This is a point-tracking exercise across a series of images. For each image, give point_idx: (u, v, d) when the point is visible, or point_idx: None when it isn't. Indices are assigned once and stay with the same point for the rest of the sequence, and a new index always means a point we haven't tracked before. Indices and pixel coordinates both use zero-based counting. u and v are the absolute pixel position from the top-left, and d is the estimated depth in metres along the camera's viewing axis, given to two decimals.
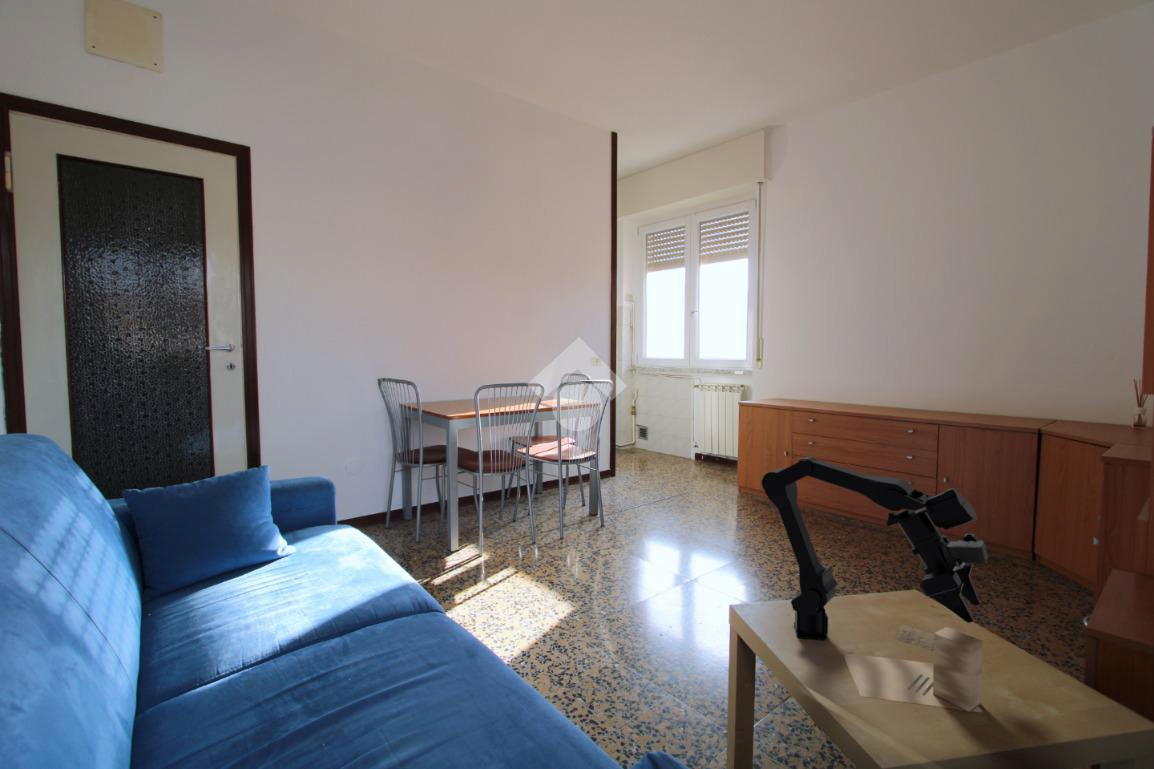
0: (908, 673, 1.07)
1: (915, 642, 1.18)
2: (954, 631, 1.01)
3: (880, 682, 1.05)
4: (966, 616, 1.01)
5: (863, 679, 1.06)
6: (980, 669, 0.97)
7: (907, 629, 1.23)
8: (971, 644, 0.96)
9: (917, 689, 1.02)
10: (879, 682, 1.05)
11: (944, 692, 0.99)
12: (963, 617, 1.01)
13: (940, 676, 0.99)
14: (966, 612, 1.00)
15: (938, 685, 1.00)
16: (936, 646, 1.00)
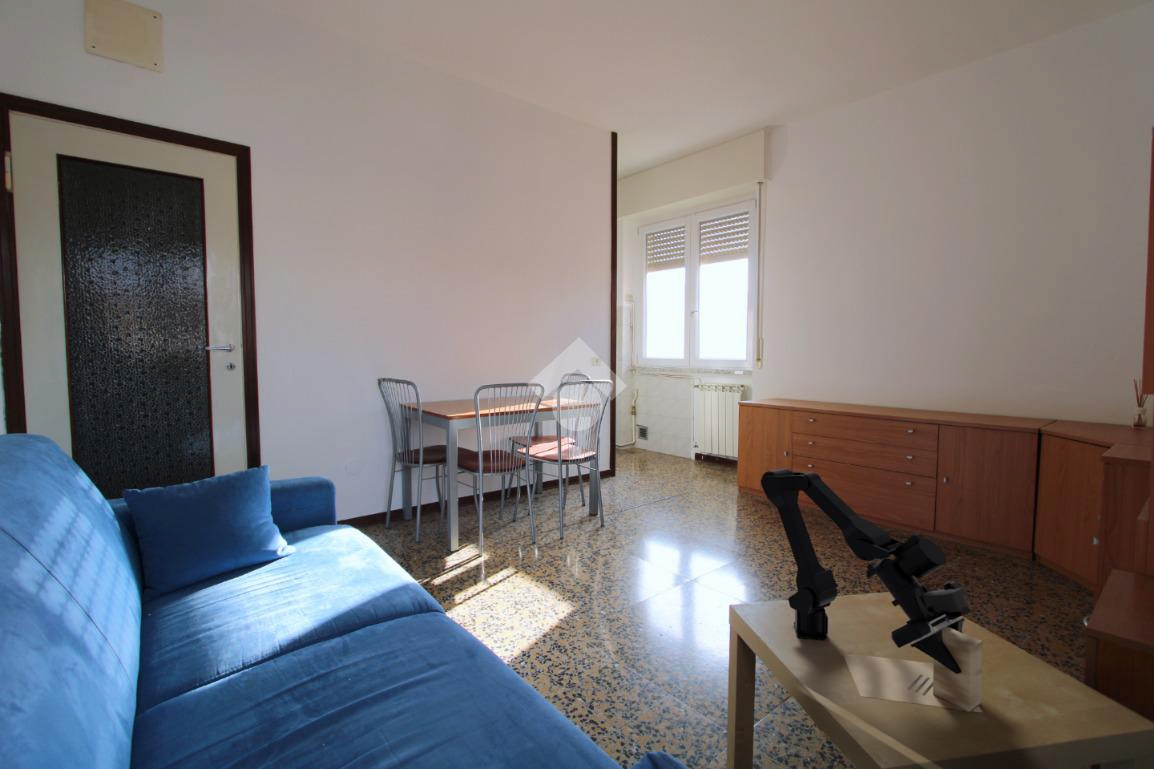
0: (908, 673, 1.07)
1: None
2: (954, 631, 1.01)
3: (880, 682, 1.05)
4: (953, 667, 0.97)
5: (863, 679, 1.06)
6: (980, 669, 0.97)
7: None
8: (971, 644, 0.96)
9: (917, 689, 1.02)
10: (879, 682, 1.05)
11: (944, 692, 0.99)
12: (950, 668, 0.97)
13: (940, 676, 0.99)
14: (951, 661, 0.97)
15: (938, 685, 1.00)
16: None
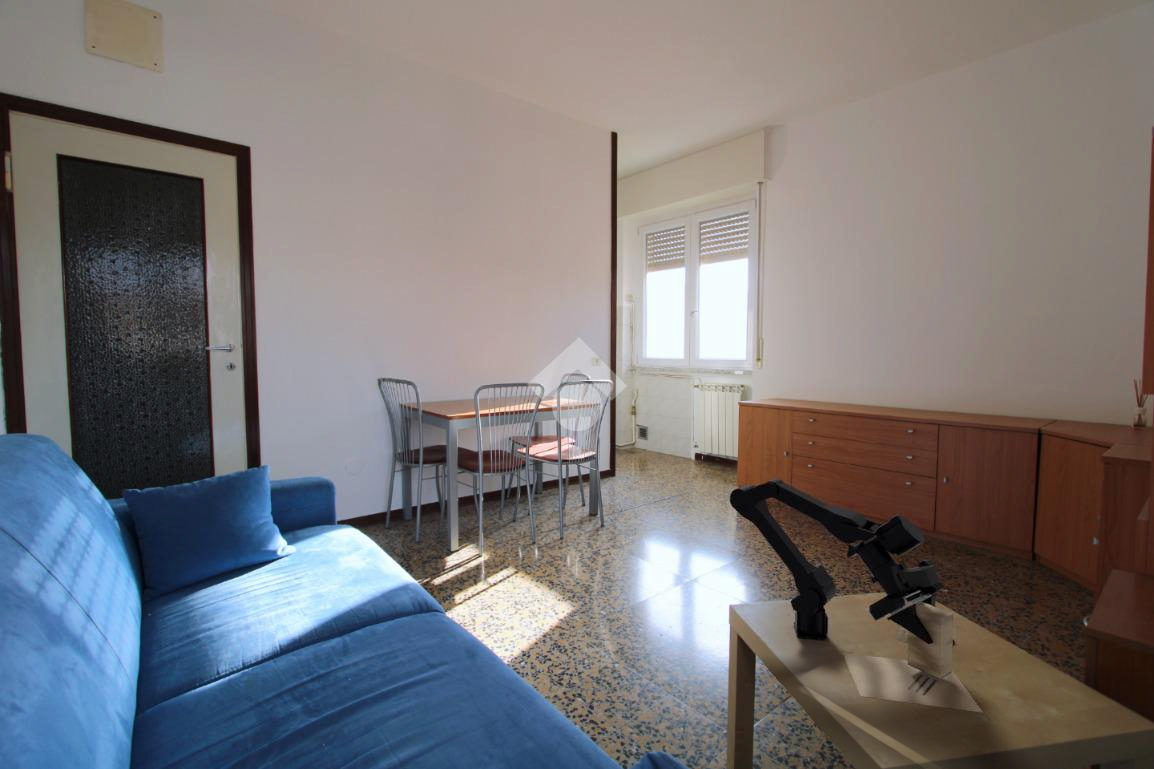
0: (908, 673, 1.07)
1: None
2: (927, 605, 1.08)
3: (880, 682, 1.05)
4: (926, 638, 1.04)
5: (863, 679, 1.06)
6: (951, 640, 1.04)
7: None
8: (942, 616, 1.03)
9: (917, 689, 1.02)
10: (879, 682, 1.05)
11: (917, 661, 1.06)
12: (923, 638, 1.04)
13: (914, 646, 1.07)
14: (924, 632, 1.04)
15: (913, 655, 1.07)
16: None
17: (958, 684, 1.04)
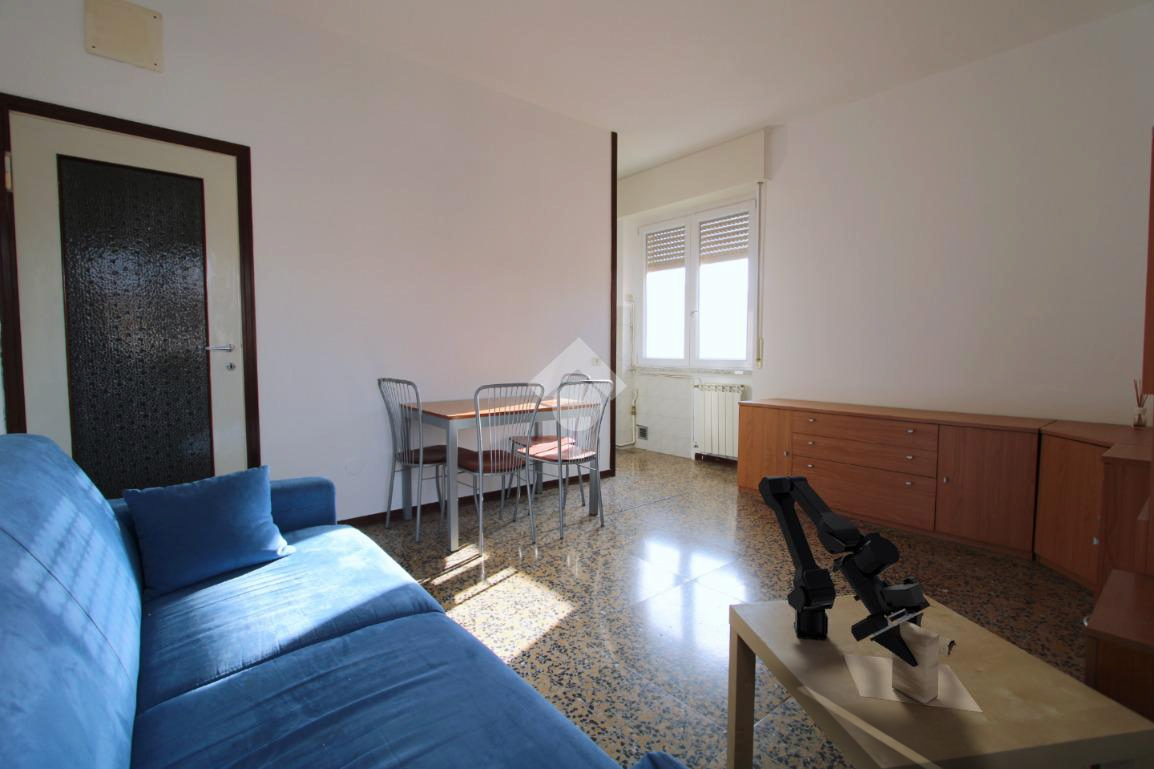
0: None
1: None
2: (913, 625, 1.03)
3: (880, 682, 1.05)
4: (910, 660, 0.99)
5: (863, 679, 1.06)
6: (937, 662, 0.99)
7: None
8: (928, 638, 0.98)
9: None
10: (879, 682, 1.05)
11: (902, 685, 1.01)
12: (907, 661, 0.99)
13: (899, 669, 1.01)
14: (908, 655, 0.99)
15: (897, 678, 1.02)
16: None
17: (958, 684, 1.04)
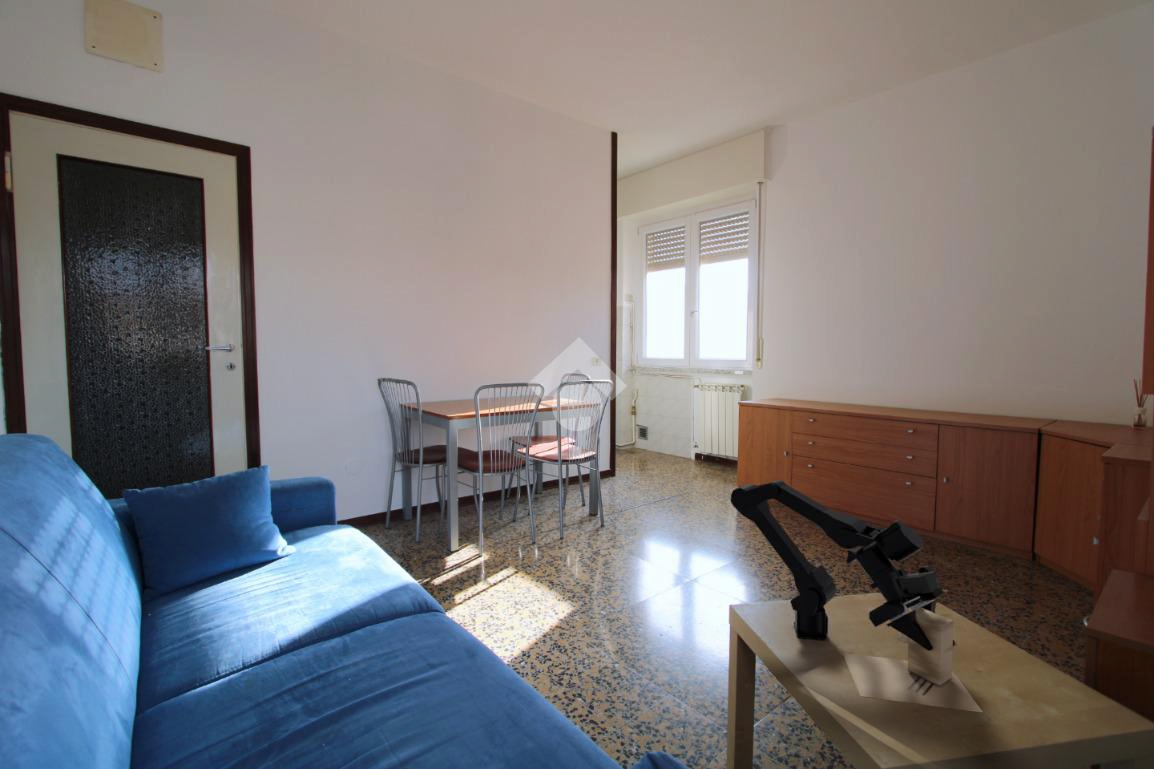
0: (908, 673, 1.07)
1: None
2: (927, 611, 1.08)
3: (880, 682, 1.05)
4: (925, 644, 1.04)
5: (863, 679, 1.06)
6: (951, 646, 1.04)
7: None
8: (942, 623, 1.03)
9: (917, 689, 1.02)
10: (879, 682, 1.05)
11: (917, 668, 1.06)
12: (923, 645, 1.04)
13: (914, 653, 1.06)
14: (924, 639, 1.04)
15: (912, 662, 1.07)
16: None
17: (958, 684, 1.04)
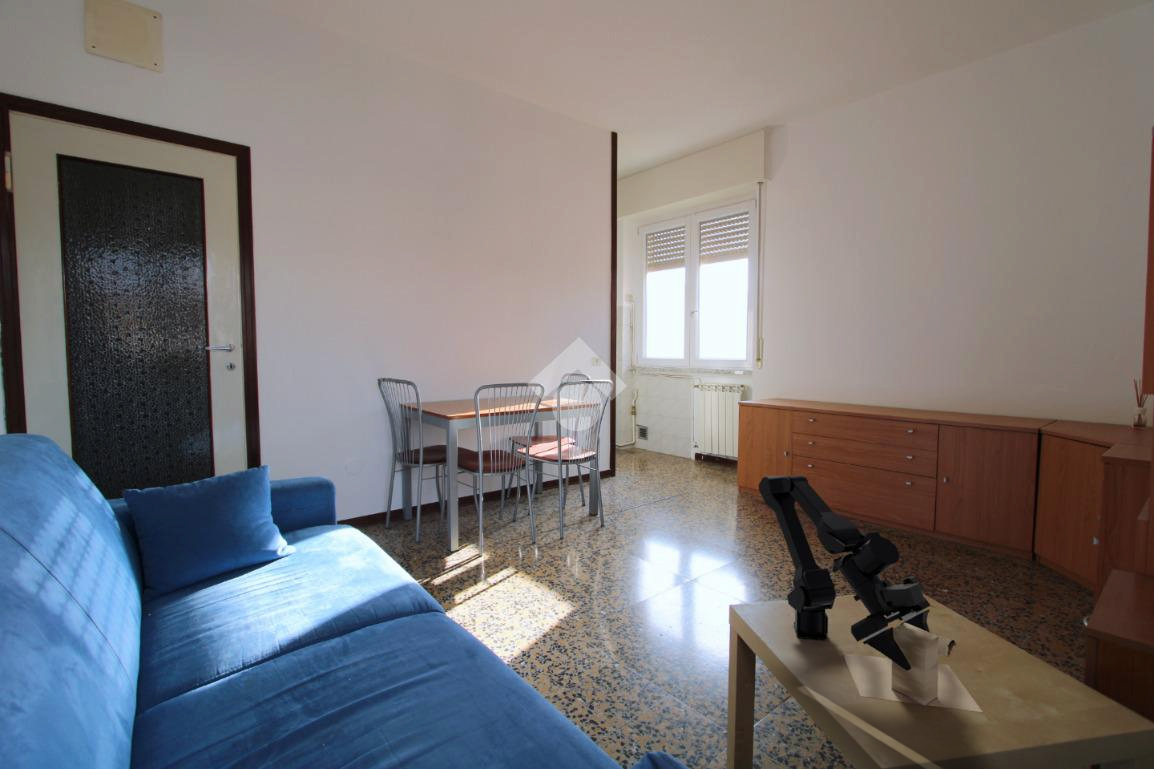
0: None
1: None
2: (912, 626, 1.02)
3: (880, 682, 1.05)
4: (903, 664, 0.98)
5: (863, 679, 1.06)
6: (936, 664, 0.99)
7: None
8: (927, 639, 0.98)
9: None
10: (879, 682, 1.05)
11: (902, 687, 1.01)
12: (900, 664, 0.98)
13: (898, 671, 1.01)
14: (902, 658, 0.98)
15: (896, 680, 1.02)
16: None
17: (958, 684, 1.04)
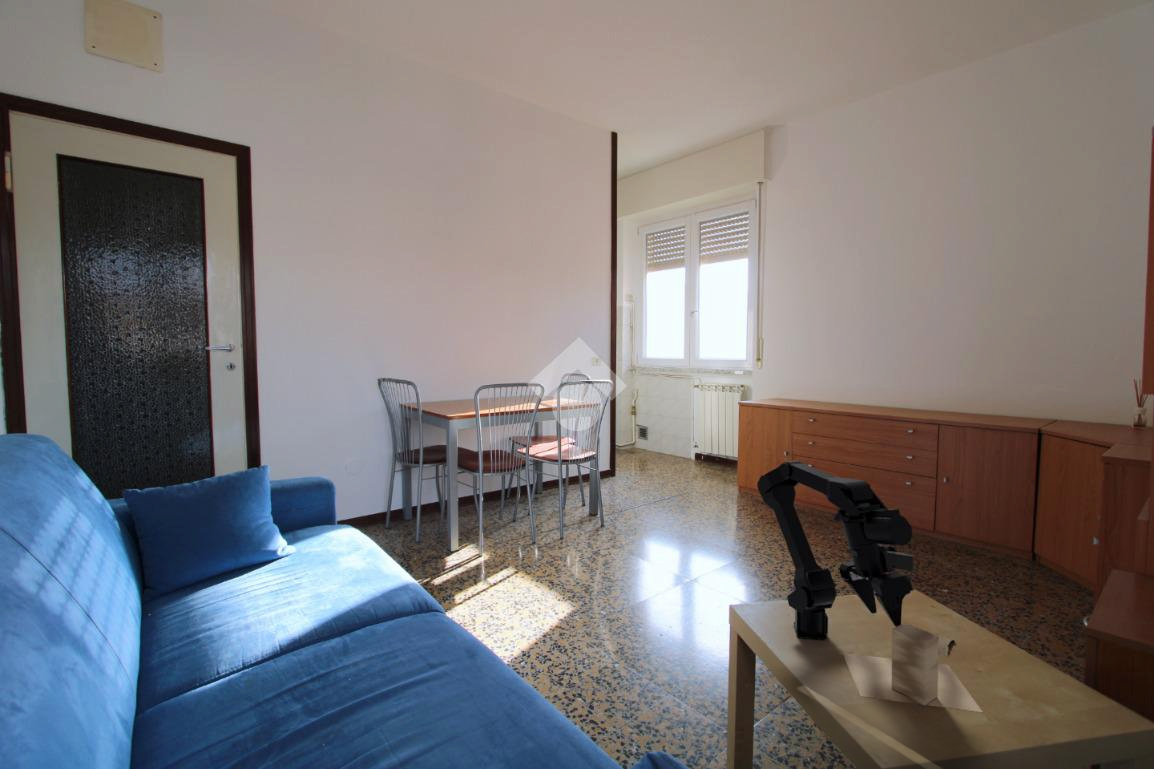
0: None
1: None
2: (912, 626, 1.02)
3: (880, 682, 1.05)
4: (897, 620, 1.04)
5: (863, 679, 1.06)
6: (936, 664, 0.99)
7: None
8: (927, 639, 0.98)
9: None
10: (879, 682, 1.05)
11: (902, 687, 1.01)
12: (895, 621, 1.03)
13: (898, 671, 1.01)
14: (899, 615, 1.03)
15: (896, 680, 1.02)
16: (894, 642, 1.02)
17: (958, 684, 1.04)
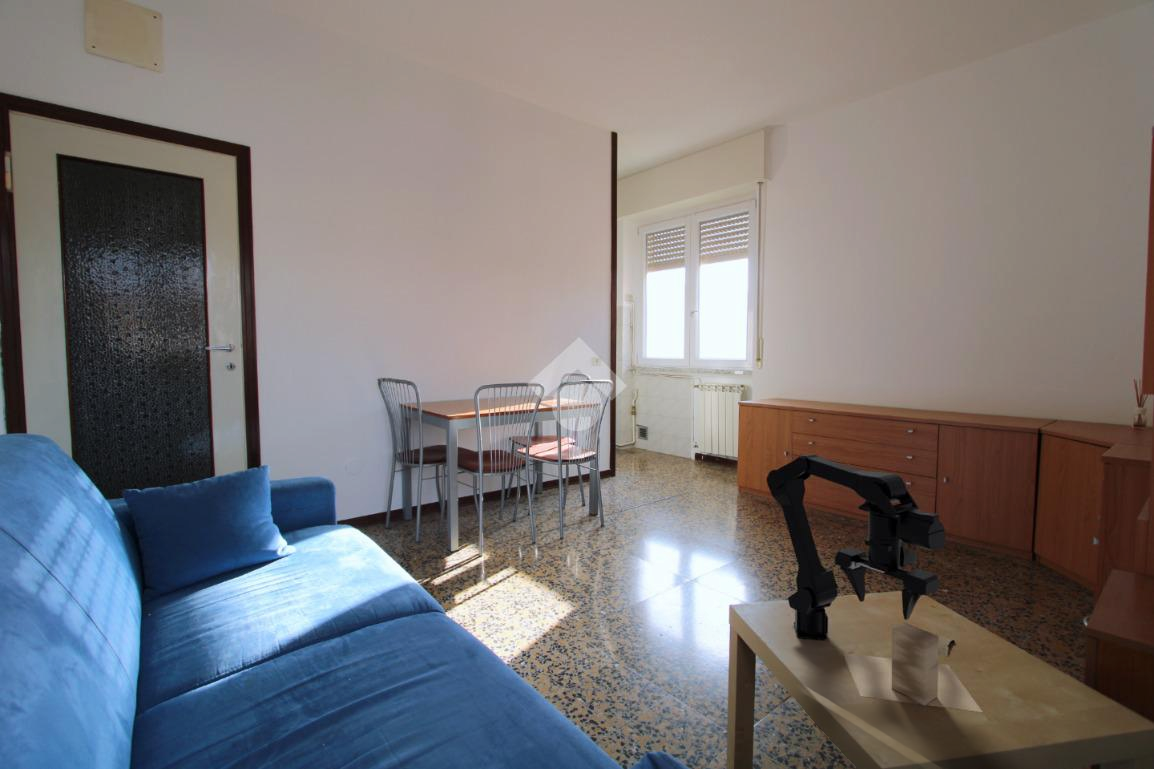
0: None
1: None
2: (912, 626, 1.02)
3: (880, 682, 1.05)
4: (908, 614, 1.05)
5: (863, 679, 1.06)
6: (936, 664, 0.99)
7: None
8: (927, 639, 0.98)
9: None
10: (879, 682, 1.05)
11: (902, 687, 1.01)
12: (908, 615, 1.05)
13: (898, 671, 1.01)
14: (911, 609, 1.06)
15: (896, 680, 1.02)
16: (894, 642, 1.02)
17: (958, 684, 1.04)
